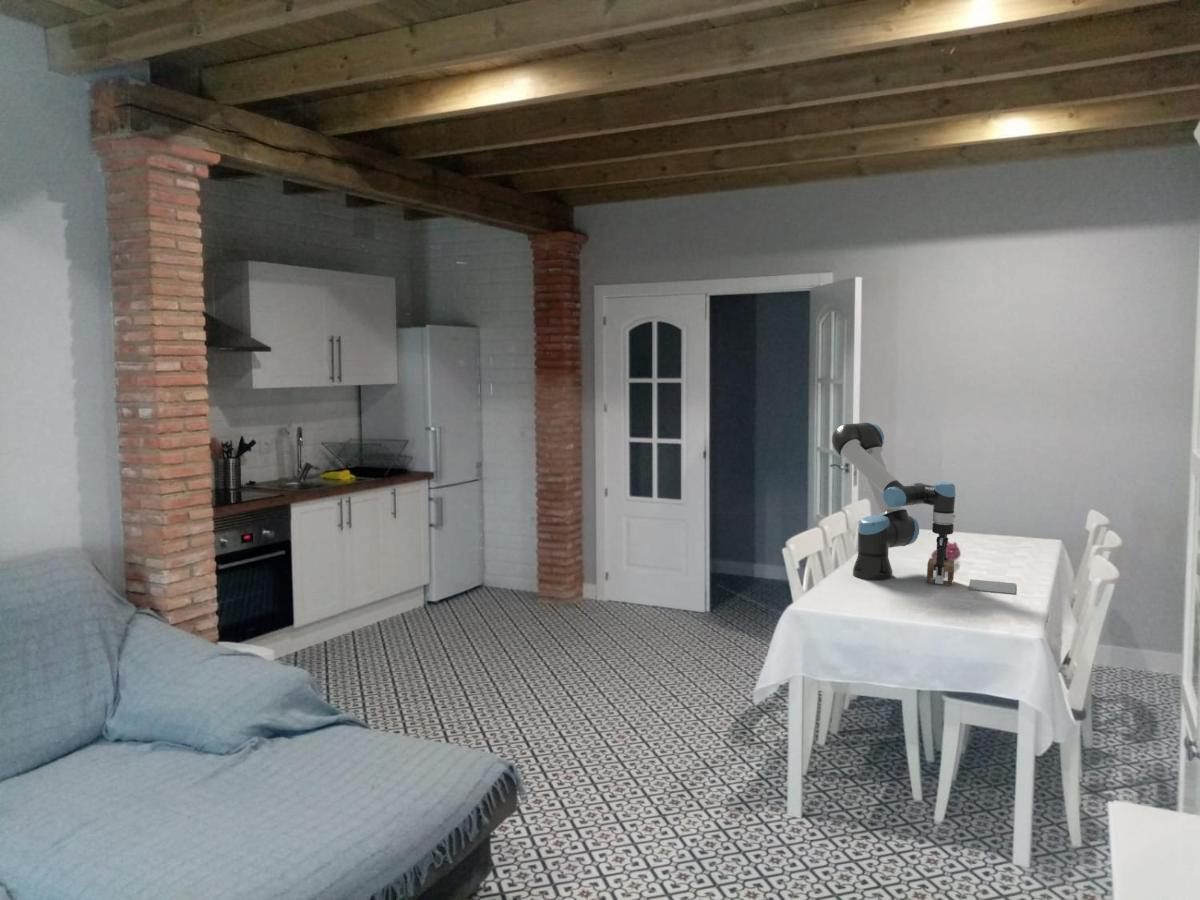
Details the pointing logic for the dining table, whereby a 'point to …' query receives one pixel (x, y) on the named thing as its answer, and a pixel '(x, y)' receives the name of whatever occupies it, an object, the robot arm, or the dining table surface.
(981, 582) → the mat
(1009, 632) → the dining table surface
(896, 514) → the robot arm
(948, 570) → the wooden stool
